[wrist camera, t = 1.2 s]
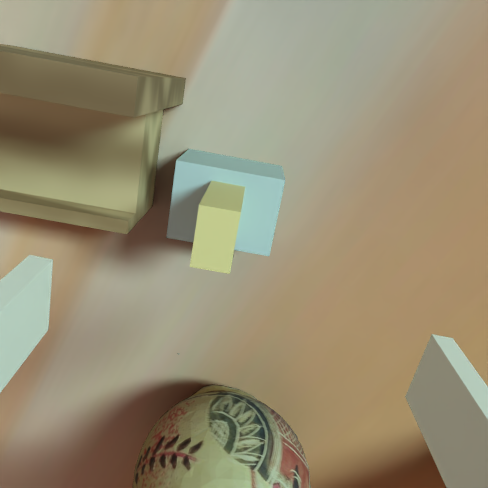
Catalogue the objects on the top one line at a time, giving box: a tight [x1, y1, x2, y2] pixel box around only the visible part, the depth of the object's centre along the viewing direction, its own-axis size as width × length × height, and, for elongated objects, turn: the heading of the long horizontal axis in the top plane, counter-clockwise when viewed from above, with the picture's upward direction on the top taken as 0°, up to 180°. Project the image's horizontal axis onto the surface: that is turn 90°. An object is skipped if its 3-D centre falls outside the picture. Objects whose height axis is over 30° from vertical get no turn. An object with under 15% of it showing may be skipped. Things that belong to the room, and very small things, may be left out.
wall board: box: [0, 44, 186, 234], centre depth 32 cm, size 11×14×15 cm
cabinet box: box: [166, 149, 285, 274], centre depth 34 cm, size 6×8×13 cm
